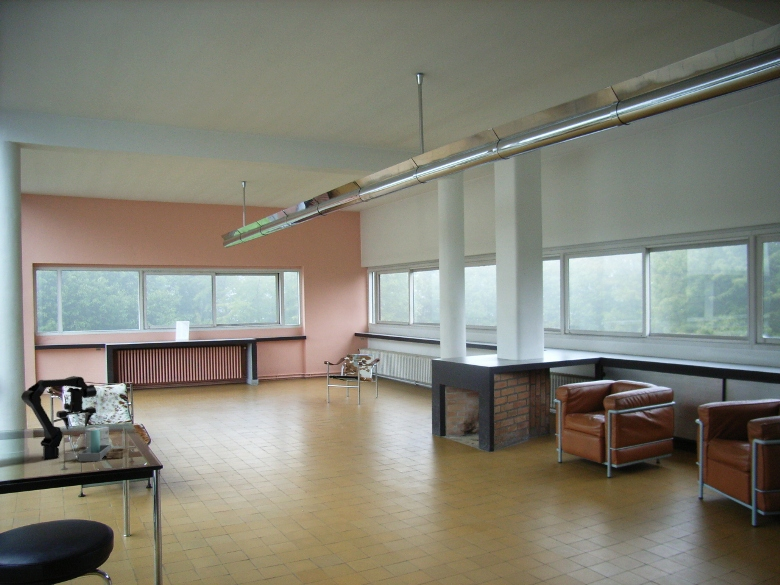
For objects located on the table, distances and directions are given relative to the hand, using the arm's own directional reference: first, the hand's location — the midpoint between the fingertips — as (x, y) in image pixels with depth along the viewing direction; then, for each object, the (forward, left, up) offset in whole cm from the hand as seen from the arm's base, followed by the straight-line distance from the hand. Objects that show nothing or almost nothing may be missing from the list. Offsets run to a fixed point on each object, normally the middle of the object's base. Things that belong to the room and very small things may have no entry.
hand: (76, 428), depth 339 cm
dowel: (+4, -17, -12) cm, 22 cm away
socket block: (+13, -24, -13) cm, 30 cm away
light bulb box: (+12, +4, -13) cm, 18 cm away
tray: (+4, -17, -13) cm, 22 cm away
